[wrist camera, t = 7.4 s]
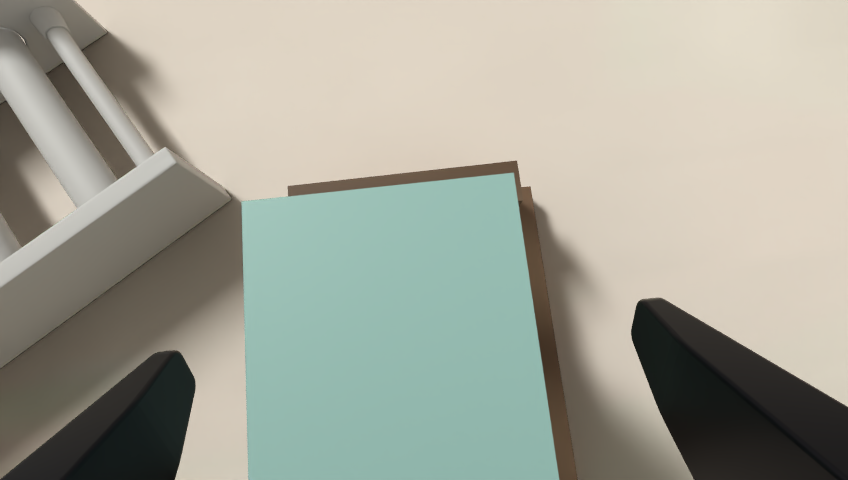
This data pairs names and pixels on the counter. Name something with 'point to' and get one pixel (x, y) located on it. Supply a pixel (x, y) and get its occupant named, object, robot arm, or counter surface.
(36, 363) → the counter surface
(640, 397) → the counter surface
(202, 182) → the test tube rack
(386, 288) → the mint green tall box
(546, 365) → the track board
